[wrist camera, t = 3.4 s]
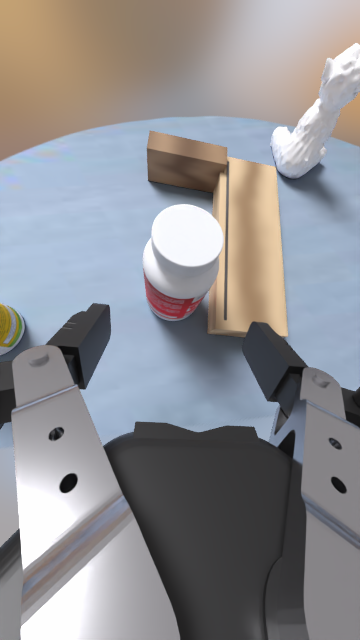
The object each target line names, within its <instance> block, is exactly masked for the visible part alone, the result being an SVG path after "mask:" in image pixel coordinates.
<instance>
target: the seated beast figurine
mask: <svg viewBox="0 0 360 640" xmlns="http://www.w3.org/2000/svg"><path fill="white" fill-rule="evenodd" d="M321 81H322V84H321V86H320V91H319V96H320V99H317V100H316V102H315V103H314V105H313V106H312V107H310V109H309V110H307V112H306V113H305V114H304V116H303V117H302V118H301V119H300V120H299V123H298V126H297V127H296V128H295V130H294V132H293V133H291V135H290V132H289V131H288V129H287V127H278V128H276V129H275V131H274V132H273V135H272V138H271V144H270V146H271V147H272V152H273V156H274V160H275V162H276V166H277V170H278V171H279V172H280V174H282V175H284V176H286V177H288V178H291V179H292V178H296V179H297V178H299V177H301V176H302V175H304V174H305V173H307V172H308V171H309V170H310V169H311V168H313V167H314V166H316V165H317V163H319V162H320V161H321V160H322V159H323V158H324V156H325V155H326V153H327V150H326V149H325V147H324V143H325V142H326V141H327V139H328V138H329V137H330V136H331V132H332V130H333V129H334V127H335V125H336V122H337V118H338V117H339V116H340V108H342V107H344V106H345V105H346V104H347V103H349V102H350V101H351V100H353V99H354V98H355V97H356V96H357V94H358V92H360V45H359V44H358V43H355V44H354V45H353V46H352V47H350V48H348V49H346V50H345V52H343V53H342V54H340V55H339V56H337V57H336V58H335V59H334V60H332V59H331V58H327V60H326V64H325V68H324V71H323V74H322V77H321Z"/></svg>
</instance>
